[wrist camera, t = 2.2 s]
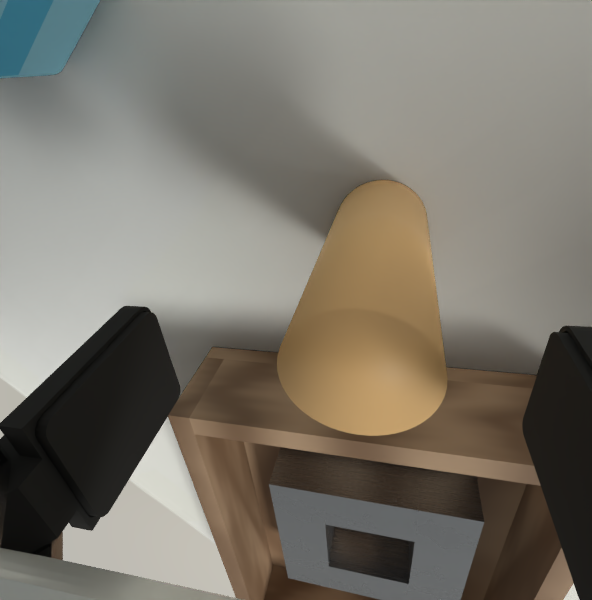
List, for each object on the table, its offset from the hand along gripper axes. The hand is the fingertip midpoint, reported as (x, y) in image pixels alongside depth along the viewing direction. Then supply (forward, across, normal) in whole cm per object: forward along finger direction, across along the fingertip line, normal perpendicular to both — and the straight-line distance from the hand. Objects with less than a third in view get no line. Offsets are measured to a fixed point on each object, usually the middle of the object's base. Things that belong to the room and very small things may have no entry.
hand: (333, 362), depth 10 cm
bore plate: (+10, -1, +21) cm, 23 cm away
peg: (+10, -1, 0) cm, 10 cm away
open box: (+10, -1, +21) cm, 23 cm away
